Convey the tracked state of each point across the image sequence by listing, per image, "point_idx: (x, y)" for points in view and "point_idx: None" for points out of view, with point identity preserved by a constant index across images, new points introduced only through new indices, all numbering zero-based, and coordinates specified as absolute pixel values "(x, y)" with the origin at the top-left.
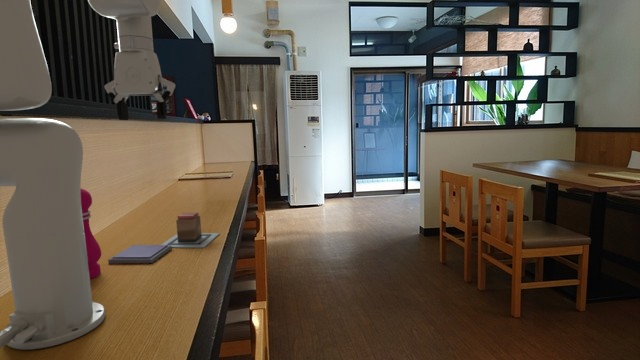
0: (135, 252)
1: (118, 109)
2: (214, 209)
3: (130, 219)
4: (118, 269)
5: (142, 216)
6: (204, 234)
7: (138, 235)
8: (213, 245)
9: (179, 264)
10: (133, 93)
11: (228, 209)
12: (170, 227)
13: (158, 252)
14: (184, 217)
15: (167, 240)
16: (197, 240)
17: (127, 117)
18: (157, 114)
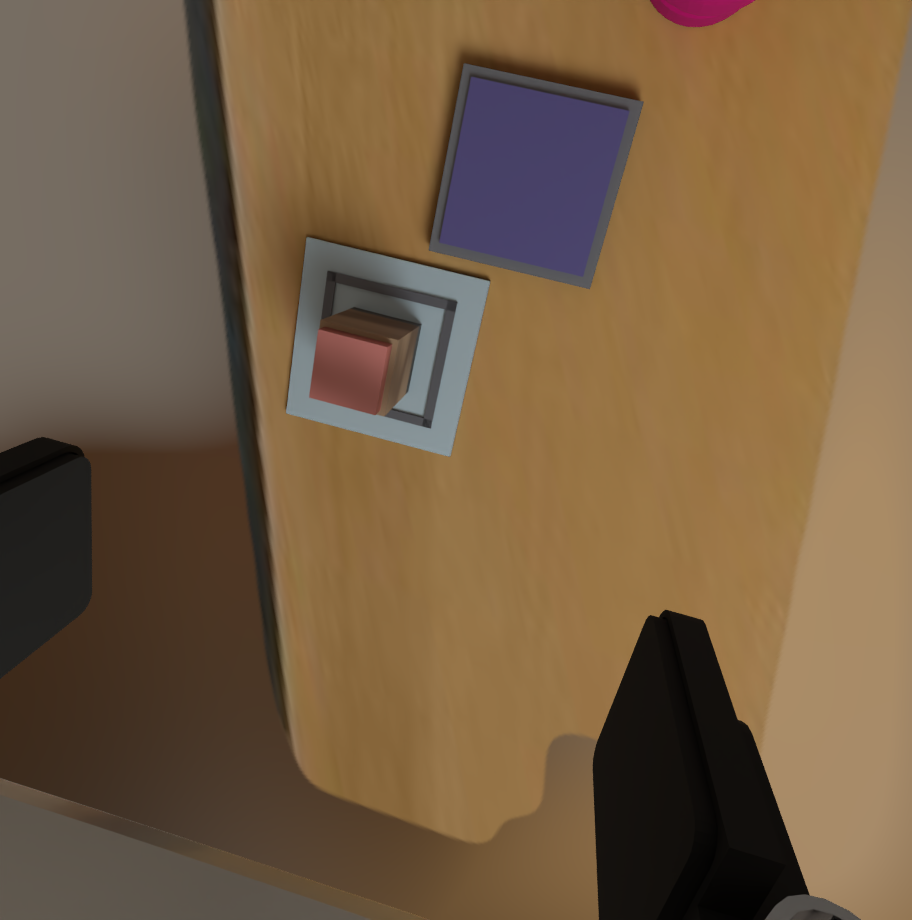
0: (547, 160)
1: (729, 727)
2: (379, 788)
3: None
4: (582, 18)
5: None
6: None
7: (612, 489)
8: (280, 260)
9: (357, 34)
10: (132, 834)
11: (322, 768)
12: (504, 570)
13: (456, 155)
14: (358, 337)
15: (470, 363)
16: None
17: (602, 759)
18: (39, 469)
